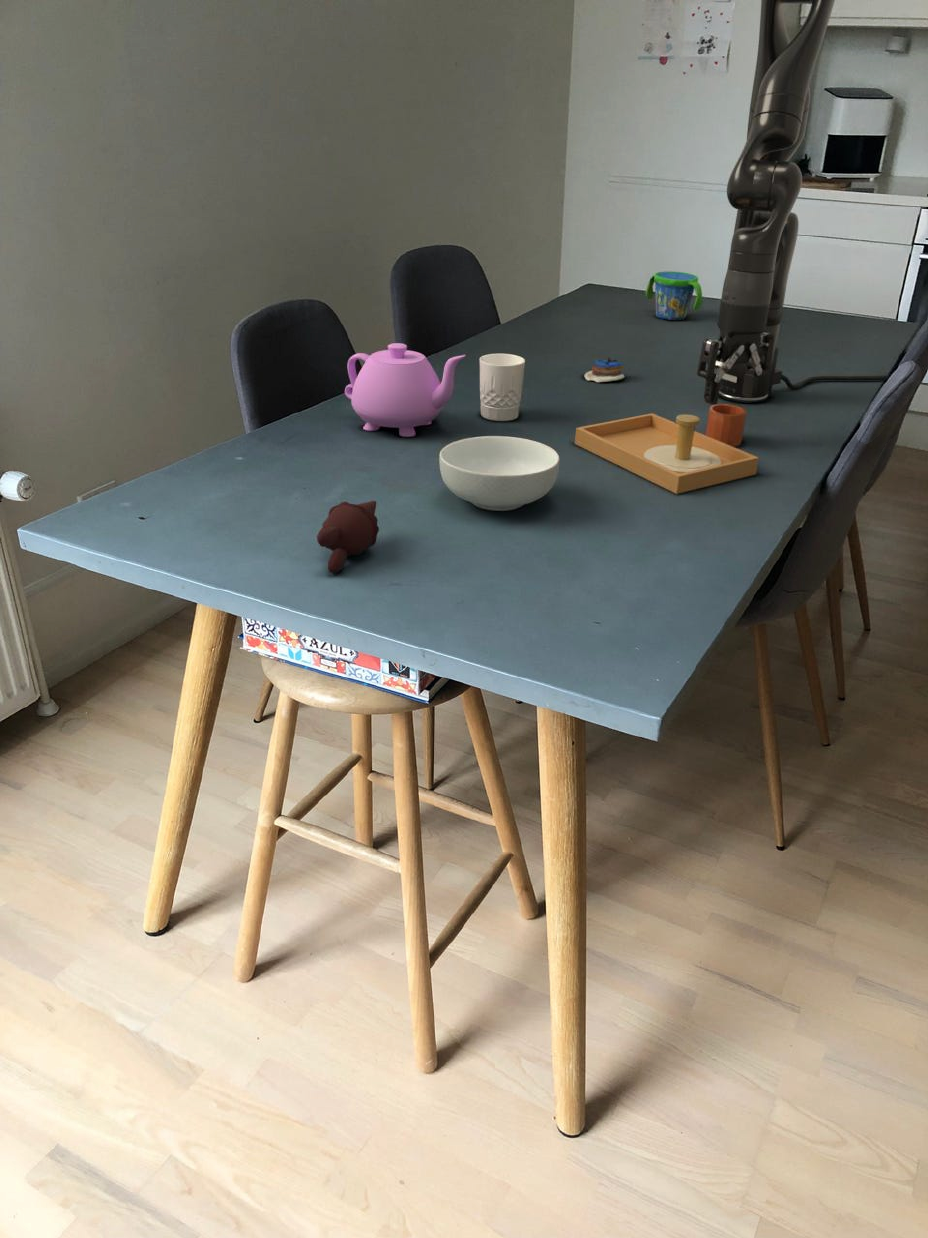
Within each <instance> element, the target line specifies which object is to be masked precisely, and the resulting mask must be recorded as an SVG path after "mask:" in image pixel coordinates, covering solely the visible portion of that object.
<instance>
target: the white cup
mask: <svg viewBox="0 0 928 1238" xmlns="http://www.w3.org/2000/svg"><path fill="white" fill-rule="evenodd" d="M525 365H526V359H525V358H524V357H522V356H519V355H517V354H511V353H488V354H485V355H482V356H480V357H479V397H480V398H479V399H480V415H481V416H482V418H483V419H486V420H489V421H495V422H508V421H514V420H516V419H518V417H519V416H520V407H521V402H522V394H523V385H524V375H525Z"/></svg>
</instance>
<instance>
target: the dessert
mask: <svg viewBox="0 0 928 1238" xmlns="http://www.w3.org/2000/svg"><path fill="white" fill-rule="evenodd" d="M591 367H592V368H591V370H589V371H586V373H585V374H584V379H585V380H586V381H589V382H590V381H594V382H596V383H604V382H606V383H607V382H613V381H619V380H622V379H624V378H625V377H626V376H625V375H624V373H622V372H623V371H622V370H623V365H622V364H621V362H619V361H618V360H617V359H611V357H608V358H607V359H602V358H601V359H600V358H599V359H598V358H597V359H596V360H595V362H593V364H592V366H591Z"/></svg>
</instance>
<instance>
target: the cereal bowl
mask: <svg viewBox="0 0 928 1238" xmlns="http://www.w3.org/2000/svg"><path fill="white" fill-rule="evenodd" d="M438 461H439V462H438V463H439V470H440V475H441V478H442V481H443V483H444V484H445V486H446V487H447V489H448V490H449V491H450V492H451V493H452V494H454V495H455V496H456V497H458V498H460V499H461V500H464V501H466V502H469V503H471V504H472V505H473V506H476V507H477V508H480V509H483V510H488V511H493V512H494V511H496V512H497V511H499V512H506V511H513V510H516V509H519V508H521V507H523V506H524V505H527V504H531V503H534V502H535V501H538V500H539V499H542V498H543V497H544V496H545V495H547V494H548V493H549V492H550V491H551V490H552V489H553V487H554V485H555V484H556V481H557V478H558V475H559V467H560V462H561V461H560V456H559V454H558V452H557V451H556V450H555V449H554V448H552V447H550V446H549V445H546V444H545V443H542V442H538V441H535V440H533V439H532V440H531V439H527V438H522V437H514V436H504V435H503V436H501V435H485V436H474V437H467V438H462V439H459V440H457V441H452V442H451V443H449V444H447V445H445V446H444V447H443V448H442V449H441V450H440V451H439V456H438Z"/></svg>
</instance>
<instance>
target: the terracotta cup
mask: <svg viewBox="0 0 928 1238" xmlns="http://www.w3.org/2000/svg"><path fill="white" fill-rule="evenodd" d="M746 419H747V409H746V408H744V407H741V406H739V405H735V404H727V403H717V404H714V405H712V404H711V405H710V406H709V410H708V417H707V422H706V428H705V435H706V436H708V437H710V438H713V439H715V440H718V441H720V442H722V443H725V444H727V445H730V446H732V447H734V448H737V447H739V446H741V444H742V441H743V436H744V432H745V431H744V430H745V423H746Z"/></svg>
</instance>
